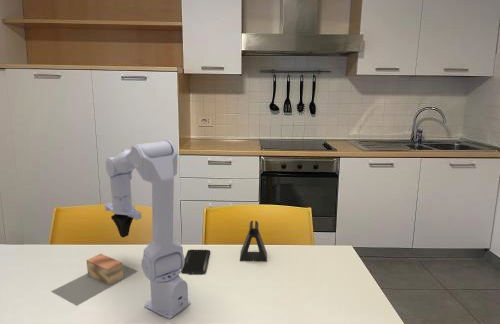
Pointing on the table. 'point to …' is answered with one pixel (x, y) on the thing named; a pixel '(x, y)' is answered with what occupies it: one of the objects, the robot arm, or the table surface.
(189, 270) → the phone
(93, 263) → the oak block
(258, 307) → the table surface
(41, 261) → the table surface
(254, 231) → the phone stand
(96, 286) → the rubber mat
